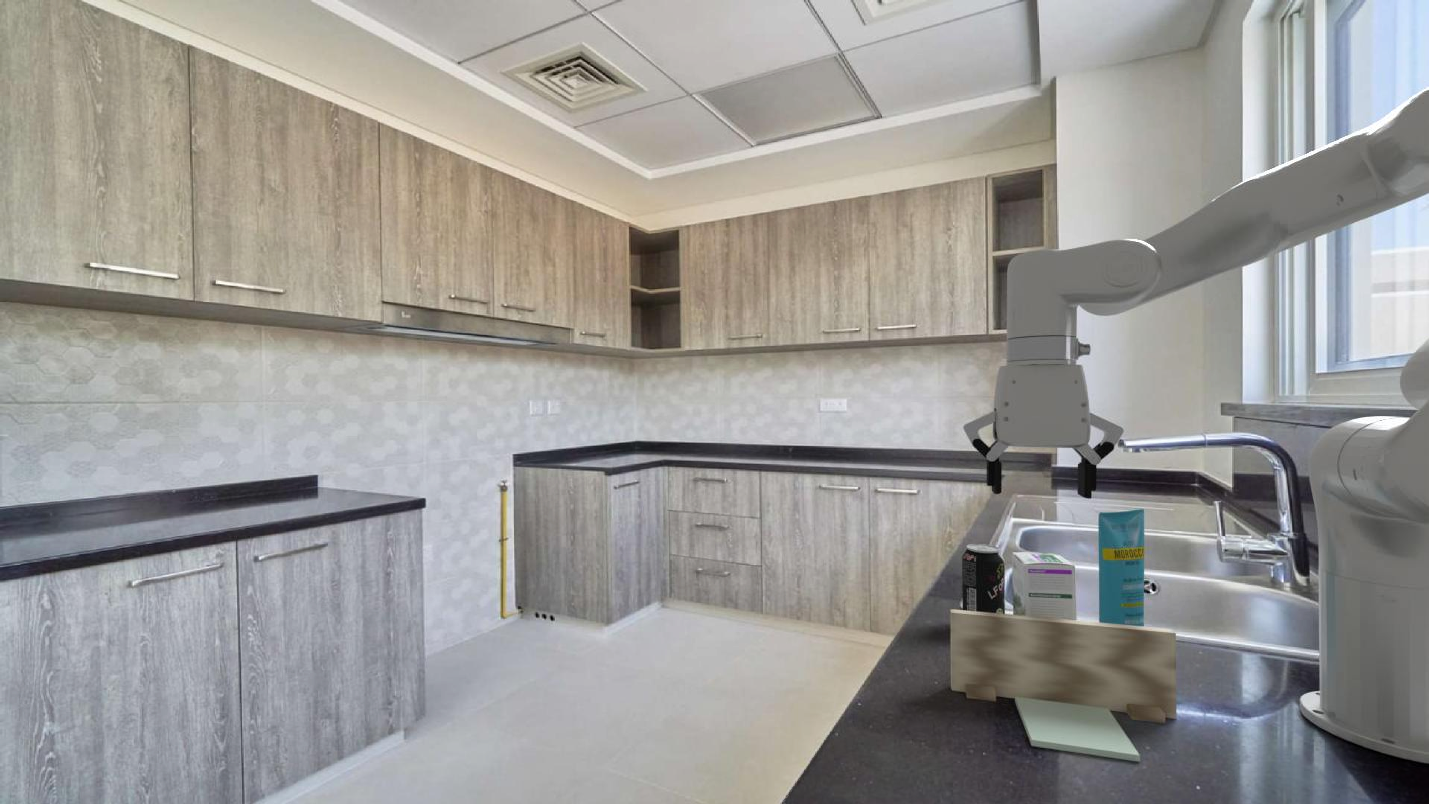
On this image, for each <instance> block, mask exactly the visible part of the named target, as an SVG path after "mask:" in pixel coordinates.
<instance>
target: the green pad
mask: <svg viewBox="0 0 1429 804" xmlns="http://www.w3.org/2000/svg"><path fill="white" fill-rule="evenodd" d="M1014 702H1015V706H1016V708H1017V711H1018V714H1019V716H1020V719H1021V721H1022V724H1023V727H1024V729H1025V733H1026V735H1027V737H1028V740H1029V742H1030V745H1031V747H1037V748H1044V749H1051V750H1057V751H1064V752H1071V753H1077V754H1085V755H1092V756H1099V757H1103V758H1104V757H1105V758H1111V759H1117V760H1124V761H1125V760H1126V761H1131V762H1137V763H1141V756H1140V754H1139V752H1138V750H1137V749H1136V748H1135V746H1134V745H1133V743H1132V741H1131V740H1130V738H1129V737H1128V735H1127V734H1126V733H1125V731H1124V730H1123V728H1122V727H1121V725H1120V724H1119V722H1118V721H1117V720H1116V718H1115V717H1114V714H1113V713H1112V712H1111V711H1109V709H1108V708H1101V707H1093V706H1085V705H1077V704H1069V703H1061V702H1053V701H1045V700H1038V699H1030V698H1022V697H1015V698H1014Z"/></svg>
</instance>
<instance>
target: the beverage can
mask: <svg viewBox="0 0 1429 804" xmlns="http://www.w3.org/2000/svg"><path fill="white" fill-rule="evenodd" d="M965 547H966V550H965V551H964V553H963V554H962V556H961V566H962V567H961V568H962V569H961V571H962V573H961V575H962V576H961V582H962V583H961V584H962V585H961V586H962V587H961V588H962V589H961V591H962V603H961V604H962V605H961V606H962V609H961V610H965V611H976V612H988V613H999V614H1006V601H1005V600H1006V598H1005V597H1006V596H1005V595H1006V594H1005V593H1006V591H1005V590H1006V581H1005V580H1006V577H1005V576H1006V575H1005V568H1006V567H1005V565H1006V564H1005V558H1004V557H1003V555H1002V553H1001V549H1000V547H998V546H995V545H992V544H991V545H990V544H985V543H971V544H970V543H969V544H967V545H966V546H965Z"/></svg>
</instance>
